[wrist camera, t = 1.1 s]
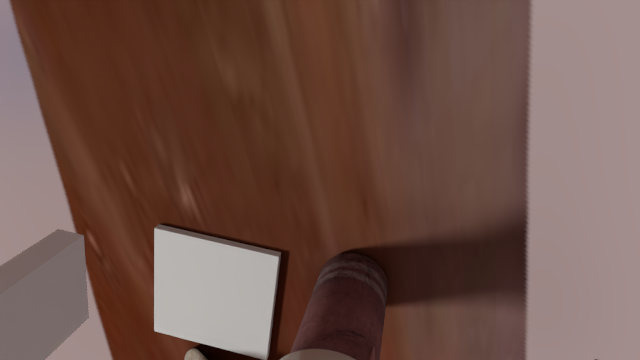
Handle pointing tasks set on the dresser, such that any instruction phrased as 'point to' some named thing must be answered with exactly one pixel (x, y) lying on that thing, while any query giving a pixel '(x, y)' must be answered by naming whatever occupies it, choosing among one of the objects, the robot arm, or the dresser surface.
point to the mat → (214, 291)
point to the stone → (194, 355)
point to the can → (346, 309)
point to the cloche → (316, 355)
